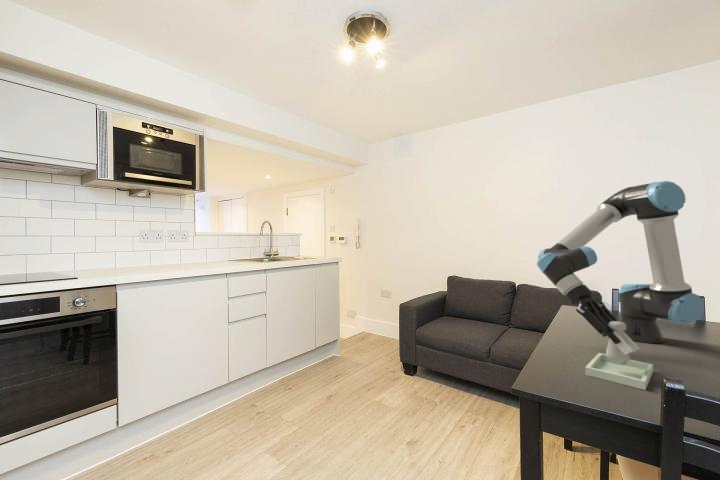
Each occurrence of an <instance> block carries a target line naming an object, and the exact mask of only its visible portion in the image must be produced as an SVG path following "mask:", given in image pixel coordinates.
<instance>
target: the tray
mask: <svg viewBox="0 0 720 480" xmlns="http://www.w3.org/2000/svg"><path fill="white" fill-rule="evenodd" d="M584 370H585V373H584V375H585V376H589V377H592V378H597V379H601V380H604V381H608V382H613V383H615V384H616V383H617V384H619V385H624V386H628V387H631V388H636V389H639V390H642V389H643V390H642V391H646V389H647V388H648V385H649V382H650V380H651V378H652V375H653V373H654V364H652V363H648V362H644V361H638V360H633V359H630V358H629V360H628V362H627V363H626V364H625V365H616V364H613V363H611V362H610V361H609V359H608V357H607V356H606V353H605V354H604V353H601V352H598V353H597V354H596V355H595V356H594V357H593V358H592V359H591V361H590V362H588V363H587V364H586V366H585V369H584ZM646 387H647V388H646Z"/></svg>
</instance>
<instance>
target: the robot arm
mask: <svg viewBox="0 0 720 480" xmlns="http://www.w3.org/2000/svg"><path fill="white" fill-rule="evenodd" d="M685 203H686V194H685V191H684V190H683V189H682V187H681V186H680V185H678V184H676V183H675V182H674V181H673V182H672V181H668V180H667V181H666V180H665V181H664V180H662V181H654V182H650V183H645V184H641V185H640V184H639V185H635V186H629V187H625V188H623V189H621V190H619V191H617V192H615V193H614V194H612V195H610V197H608V198H606V199H605V200H603V201H602V202H601V203H600V204H599V205H598V206H597V208H596V211H594V212H593V213H592V214H590V216H589V217H587V218H586V219H584V220H583V221H582V222H581V223H579V224H578V226H576V227H575V228H573V230H571V231H570V232H568V233H567V235H565V236H564V237H562V238H561V239H560V240H559V241H558V242H557V243H555V244H554V245H553V246H552V247H550V248H544V249H542V250H540V251H539V253H538V256H537V257H538V260H537V262H536V265H537V267H538V269H540V271H541V272H542V273H543V275H545V277H546V278H547V279H548V280H550V282H551V283H552V284H553V285H554V286H555V288H557V290H558V292H560V293H561V295H563V296H565V299H567V301H568V302H569V303H570V304H571V305H573V306H576V305H577V308H575V311H576V313H578V314H580V315H581V316H582V317H583V318H584V319H585V320H586V321H587V322H588V323H589V324H590V325H591V326H592V327H593V328H594V330H595V331H596V332H597V333H598V334H599V335H601V336H602V337H603V338H605V337H608V339H609V338H610V339H611V340H612V341H613V343H614V344H615V345H616V346H617V347H618V348H619V349H620V350H621V351H622V352H623V353H624V354H625V355H627V354H628V353H629V354H630V353H631V354H633V353H634V352H636V351H638V350H640V347H639V346H638V345H637V344H636V343H635V342H638V343H645V344H646V343H647V344H649V343H650V344H658V343H663V342H664V335H663V334H662V333H661V332H662V331H661V329H660V326H659V324H658V321H657V320H658V319H661V320H665V321H669V322H671V323H677V324H682V325H683V324H684V325H688V324H692V323H694V322H696V321H698V320H699V319H700V317H701V316H702V315H703V313H704V311H705V310H704V309H705V302H704V300H703V298H702V297H701V296H700V295H698V294H697V293H693V290H692V289H693V288H692V286H691V285H690V284H689V283H686V282H685V278H684V277H685V276H684V271H683V266H682V259H681V255H680V249H679V244H678V243H679V242H678V238H677V232H676V225H675V219H677V217H678V216H679V215H680V214H679V210H682V208H683V207H684V205H685ZM635 215H636V220H637V221H638V222H640V223H641V224H642V226H643V230H644V237H645V241H646V247H647V252H648V257H649V258H648V259H649V263H650V264H649V265H650V270H651V274H652V275H651V276H652V281H653V283H643V284H642V283H639V284H638V283H633V284H622V285H621V286H620V291H619V307H620V318H619V319H617V318H616V316H615V315H614V314H613V313H612V312H611V310H610V309H608V307H606V306H607V305H605V303H604V302H602V301H600V302H598V301H596V300H595V299H594V298H593V297H592V295H593V291H592V290H591V289H590V288H589V287H588V286H587V285H586V284H584V282H583V281H582V280H581V279H580V278H579V277H578V275H576V274H575V273H577V272H579V271H581V270H584V269H587V268H590V267H591V266H593V265H595V264H596V263H597V261H598V256H597V253H596V252H595V250H594V249H593V248H592V247H590V246H587V244H588V243H589V242H591V241H592V240H593V239H594V238H596V237H597V236H598V235H600V233H602V232H603V231H604V230H606V229H607V228H608V227H609V226H610V225H612V224H614V223H618V222H620V221H621V220H622V219H624V218H626V217H629V216H635ZM610 321H619V322H623V323H625V324H626V330H624V334H625V339H626V342H625V340H624V339H623V338H622V337H621V336H620V335H619V334H618V333H617V332H616V331H615V332H613V330H612V329H611V328H610V326H609V325H608V324H609V322H610Z"/></svg>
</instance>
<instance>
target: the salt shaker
mask: <svg viewBox="0 0 720 480" xmlns="http://www.w3.org/2000/svg"><path fill="white" fill-rule="evenodd" d="M619 321H620V320H618V321H610V322H609V324H608V325H609V326H610V328H611V329H612V330H613V332H615V331H616V332H617V333H618V334H619V335H620V336H621V337H622V338H623V339H624V340H625V342H626V339H625V334H624V330H626V324H625V323H623V322H619ZM605 354H606V356H607V357H608V359H609V361H610V362H611V363H613V364H616V365H625V364H626V363H627V362H628V360H629V359H630V353H628V354H627V355H625V354H624V353H623V352H622V351H621V350H620V349H619V348H618V347H617V346H616V345H615V344H614V343H613V341H612V340H611V339H610V338H609V337H608V343H607V347H606V350H605Z"/></svg>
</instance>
